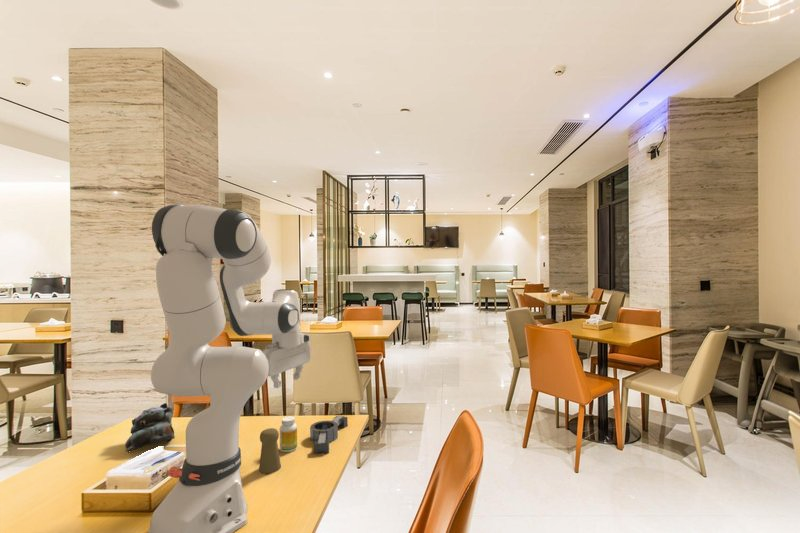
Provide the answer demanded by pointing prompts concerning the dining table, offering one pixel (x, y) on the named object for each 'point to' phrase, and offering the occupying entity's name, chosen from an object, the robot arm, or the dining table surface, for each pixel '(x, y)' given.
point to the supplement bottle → (288, 434)
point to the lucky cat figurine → (151, 427)
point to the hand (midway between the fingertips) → (287, 383)
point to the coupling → (326, 433)
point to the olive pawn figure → (269, 451)
